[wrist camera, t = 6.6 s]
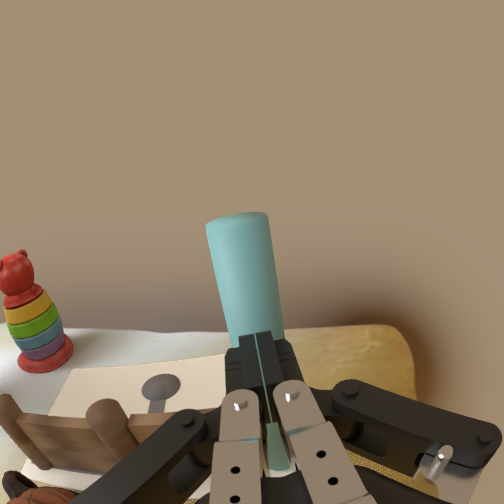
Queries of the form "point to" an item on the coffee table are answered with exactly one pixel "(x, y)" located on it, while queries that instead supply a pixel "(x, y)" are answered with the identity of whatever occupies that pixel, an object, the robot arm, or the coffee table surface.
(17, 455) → the coffee table surface
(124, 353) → the coffee table surface
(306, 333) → the coffee table surface
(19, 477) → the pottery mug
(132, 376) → the card
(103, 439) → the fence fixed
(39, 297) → the stacking bear
